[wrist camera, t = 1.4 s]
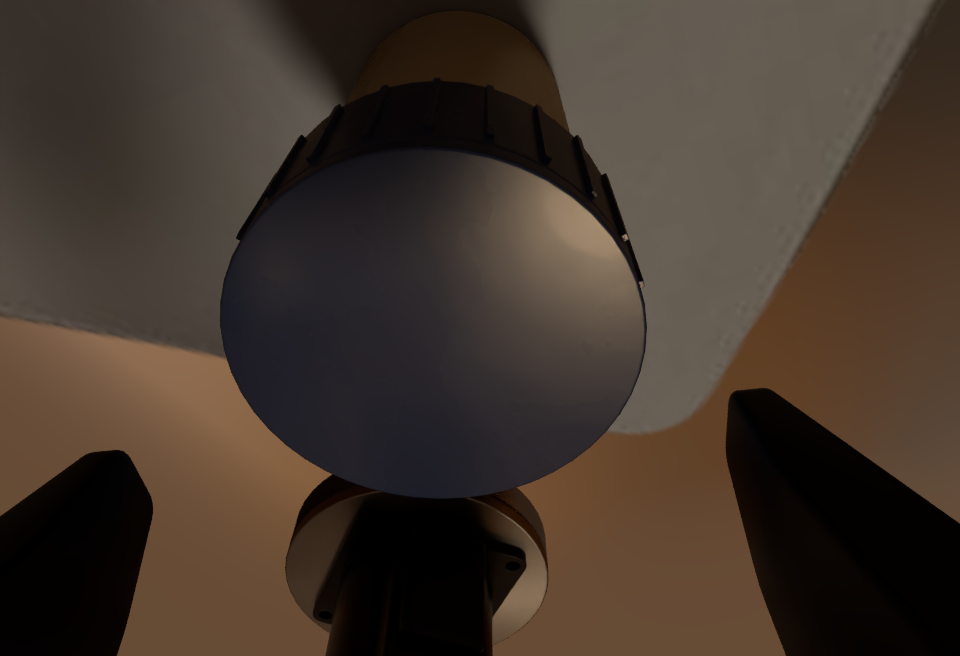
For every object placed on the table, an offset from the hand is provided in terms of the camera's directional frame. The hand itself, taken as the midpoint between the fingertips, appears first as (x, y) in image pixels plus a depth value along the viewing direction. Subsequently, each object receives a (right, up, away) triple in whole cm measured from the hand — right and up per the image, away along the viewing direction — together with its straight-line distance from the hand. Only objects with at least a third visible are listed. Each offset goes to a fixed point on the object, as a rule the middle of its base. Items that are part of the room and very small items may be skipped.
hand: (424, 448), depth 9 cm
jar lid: (0, +3, +4) cm, 5 cm away
